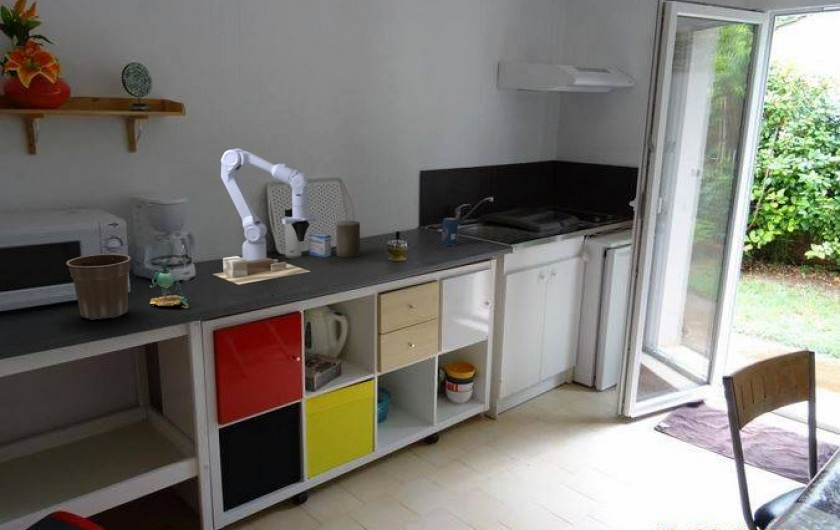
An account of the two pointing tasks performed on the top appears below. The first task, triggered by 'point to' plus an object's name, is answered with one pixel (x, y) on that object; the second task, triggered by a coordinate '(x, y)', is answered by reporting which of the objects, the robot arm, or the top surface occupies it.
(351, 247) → the pillar candle
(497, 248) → the top surface
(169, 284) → the frog figurine
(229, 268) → the slat board
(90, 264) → the plant pot
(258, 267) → the slat
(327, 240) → the medicine box
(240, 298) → the top surface
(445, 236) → the soda can
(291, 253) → the travel mug
